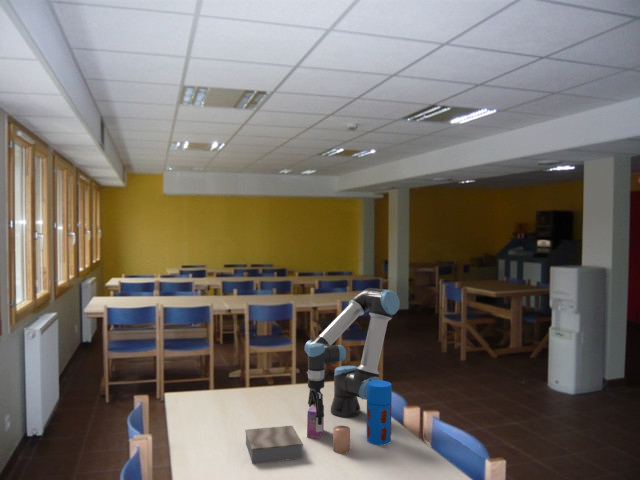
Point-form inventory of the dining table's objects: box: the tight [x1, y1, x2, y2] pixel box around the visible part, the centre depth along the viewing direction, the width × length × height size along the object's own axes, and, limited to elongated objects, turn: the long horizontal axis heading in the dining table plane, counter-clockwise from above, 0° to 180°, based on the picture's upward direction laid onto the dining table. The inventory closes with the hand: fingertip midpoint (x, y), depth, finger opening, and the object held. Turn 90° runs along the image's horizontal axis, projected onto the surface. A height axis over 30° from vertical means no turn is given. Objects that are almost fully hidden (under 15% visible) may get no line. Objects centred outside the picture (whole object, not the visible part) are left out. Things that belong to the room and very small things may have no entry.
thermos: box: [365, 379, 393, 446], centre depth 230 cm, size 11×11×25 cm
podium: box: [244, 425, 304, 464], centre depth 217 cm, size 21×21×6 cm
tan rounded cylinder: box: [332, 425, 351, 455], centre depth 219 cm, size 7×7×9 cm
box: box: [306, 404, 325, 439], centre depth 237 cm, size 10×6×12 cm, turn 168°
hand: (315, 426), depth 237 cm, fingers closed on box, 12 cm apart
